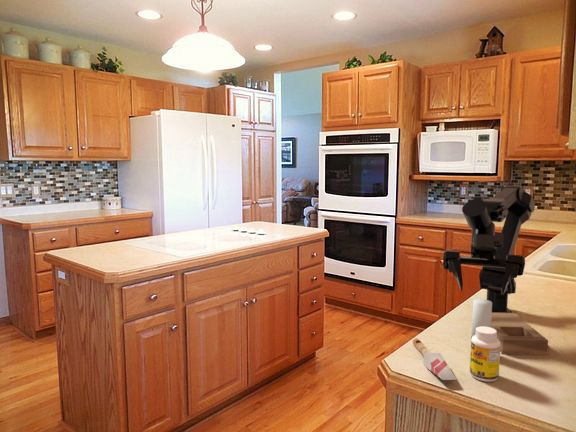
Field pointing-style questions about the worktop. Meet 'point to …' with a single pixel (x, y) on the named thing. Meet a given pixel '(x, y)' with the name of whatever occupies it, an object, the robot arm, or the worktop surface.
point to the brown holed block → (517, 335)
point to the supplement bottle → (485, 354)
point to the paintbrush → (434, 362)
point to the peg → (481, 314)
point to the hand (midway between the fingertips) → (481, 291)
